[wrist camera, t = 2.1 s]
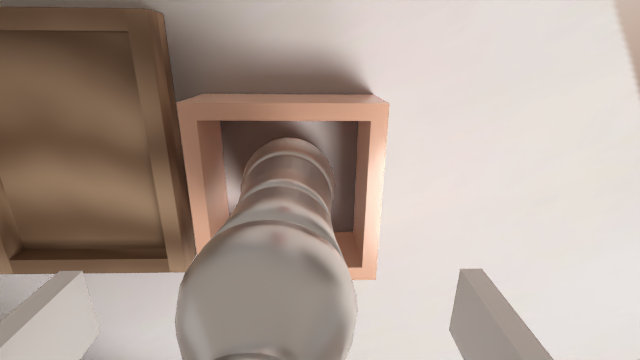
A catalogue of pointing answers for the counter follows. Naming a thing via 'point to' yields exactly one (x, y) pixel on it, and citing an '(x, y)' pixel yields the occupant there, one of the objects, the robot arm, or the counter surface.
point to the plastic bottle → (272, 268)
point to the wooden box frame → (209, 109)
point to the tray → (90, 144)
